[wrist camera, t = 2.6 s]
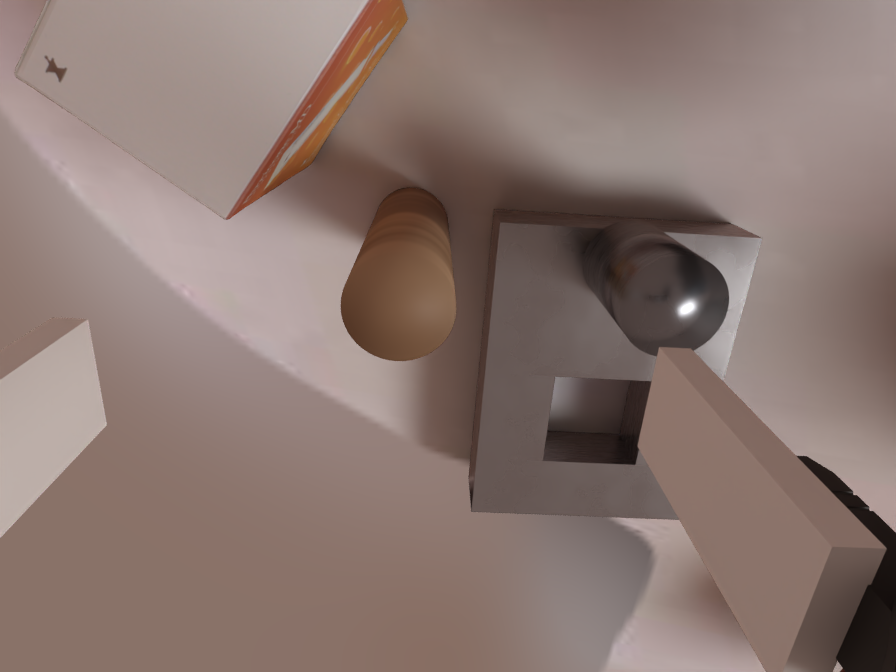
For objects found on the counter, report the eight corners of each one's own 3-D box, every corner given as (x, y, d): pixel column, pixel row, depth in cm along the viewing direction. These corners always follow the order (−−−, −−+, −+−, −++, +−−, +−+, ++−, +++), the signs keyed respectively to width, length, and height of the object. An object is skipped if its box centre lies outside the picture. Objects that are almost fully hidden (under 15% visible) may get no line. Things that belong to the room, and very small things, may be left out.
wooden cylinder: (376, 185, 29) (340, 249, 18) (450, 189, 29) (460, 256, 18) (374, 257, 30) (340, 358, 19) (445, 261, 31) (452, 363, 20)
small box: (312, 167, 29) (224, 229, 17) (192, 77, 27) (0, 75, 15) (414, 17, 26) (397, -37, 14) (290, -92, 25) (154, -255, 13)
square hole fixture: (495, 199, 29) (518, 245, 21) (734, 213, 30) (849, 264, 22) (468, 478, 36) (478, 598, 28) (666, 486, 36) (735, 606, 28)
